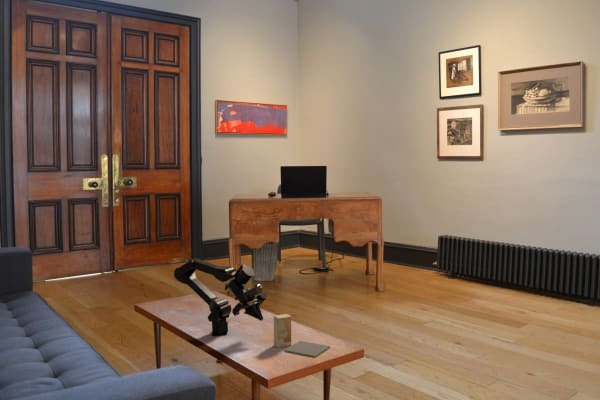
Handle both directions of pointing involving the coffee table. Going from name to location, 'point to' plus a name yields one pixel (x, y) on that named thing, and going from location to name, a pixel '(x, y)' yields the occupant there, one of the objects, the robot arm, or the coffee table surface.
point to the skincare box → (282, 330)
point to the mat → (307, 349)
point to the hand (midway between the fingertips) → (262, 319)
